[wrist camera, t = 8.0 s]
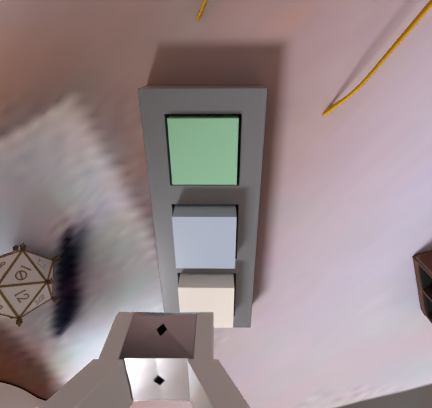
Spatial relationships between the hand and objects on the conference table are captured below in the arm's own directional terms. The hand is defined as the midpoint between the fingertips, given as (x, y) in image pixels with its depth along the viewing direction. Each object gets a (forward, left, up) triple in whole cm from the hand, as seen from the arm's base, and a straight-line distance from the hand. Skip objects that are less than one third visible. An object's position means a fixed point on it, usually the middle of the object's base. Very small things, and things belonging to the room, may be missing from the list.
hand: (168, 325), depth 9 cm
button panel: (-8, 0, -22) cm, 23 cm away
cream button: (-17, 0, -20) cm, 26 cm away
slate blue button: (-8, 0, -20) cm, 22 cm away
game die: (-14, +21, -22) cm, 34 cm away
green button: (0, 0, -21) cm, 21 cm away
